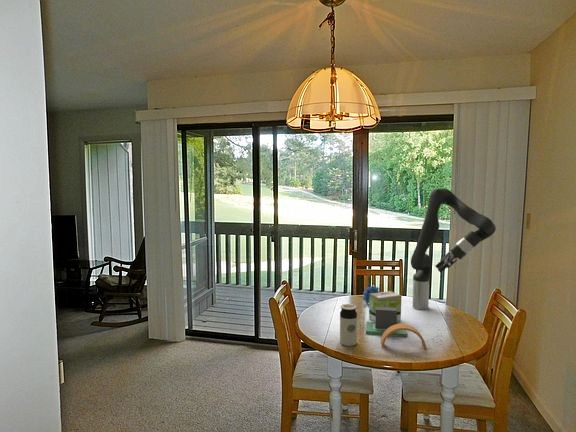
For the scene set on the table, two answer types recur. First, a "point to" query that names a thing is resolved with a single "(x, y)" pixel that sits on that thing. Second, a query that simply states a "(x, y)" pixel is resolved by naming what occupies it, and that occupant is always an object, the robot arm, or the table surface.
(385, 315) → the block
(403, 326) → the arch
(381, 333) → the board
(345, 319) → the travel mug
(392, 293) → the tea box
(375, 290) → the grapes
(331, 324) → the table surface
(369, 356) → the table surface
